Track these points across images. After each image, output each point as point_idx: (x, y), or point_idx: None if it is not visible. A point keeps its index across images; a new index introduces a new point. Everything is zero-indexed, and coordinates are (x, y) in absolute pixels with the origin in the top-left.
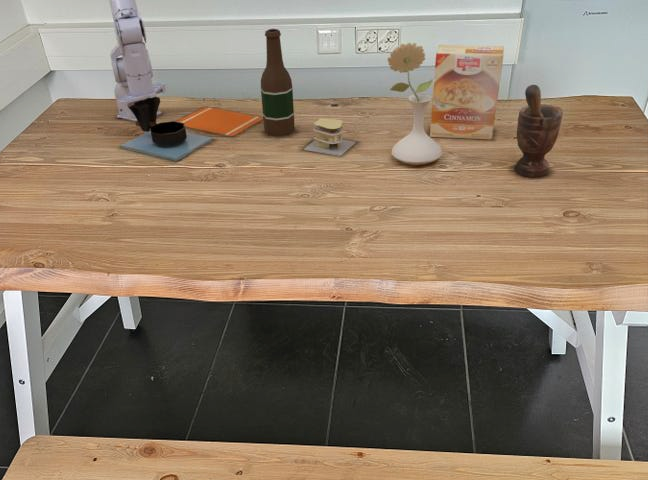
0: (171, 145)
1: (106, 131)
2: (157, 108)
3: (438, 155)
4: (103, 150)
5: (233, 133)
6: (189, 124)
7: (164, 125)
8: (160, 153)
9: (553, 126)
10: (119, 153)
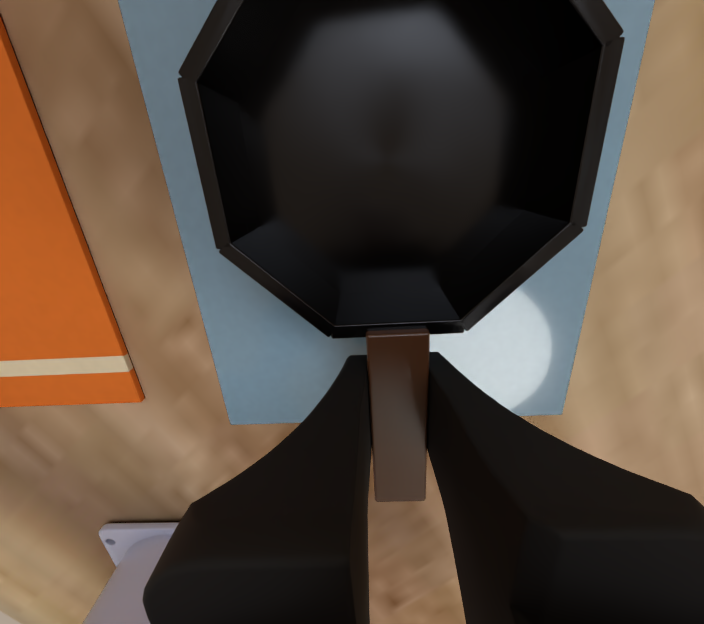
0: None
1: (402, 570)
2: (285, 448)
3: None
4: (608, 455)
5: None
6: (67, 305)
7: (311, 294)
8: (630, 31)
9: None
10: (626, 362)
